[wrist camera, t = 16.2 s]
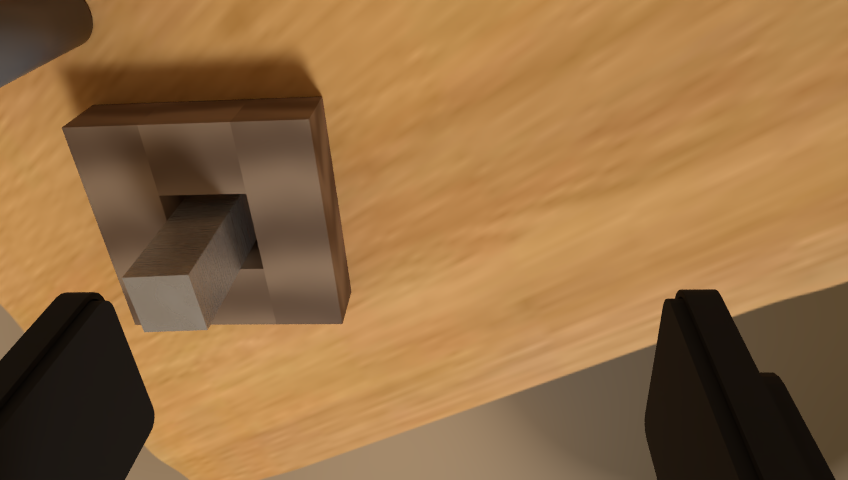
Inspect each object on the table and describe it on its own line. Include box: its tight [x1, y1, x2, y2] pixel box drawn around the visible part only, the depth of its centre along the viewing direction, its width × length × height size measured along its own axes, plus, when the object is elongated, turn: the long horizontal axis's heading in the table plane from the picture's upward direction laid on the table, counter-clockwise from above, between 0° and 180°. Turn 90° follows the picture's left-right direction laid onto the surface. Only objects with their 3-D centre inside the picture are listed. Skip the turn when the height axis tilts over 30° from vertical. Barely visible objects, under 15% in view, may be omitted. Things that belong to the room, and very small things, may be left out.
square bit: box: [122, 194, 257, 332], centre depth 44 cm, size 4×4×12 cm
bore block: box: [62, 97, 351, 325], centre depth 47 cm, size 16×16×4 cm
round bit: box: [0, 0, 93, 87], centre depth 37 cm, size 4×4×12 cm
